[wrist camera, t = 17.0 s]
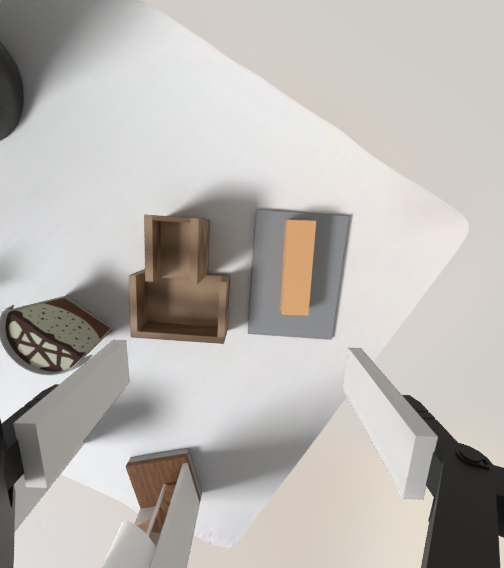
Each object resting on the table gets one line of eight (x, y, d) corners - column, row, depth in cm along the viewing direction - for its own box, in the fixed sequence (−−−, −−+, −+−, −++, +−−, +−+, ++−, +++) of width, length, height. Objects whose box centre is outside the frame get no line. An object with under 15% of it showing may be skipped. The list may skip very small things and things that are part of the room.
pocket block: (142, 215, 41) (115, 212, 33) (232, 221, 41) (227, 220, 33) (144, 325, 44) (120, 346, 37) (227, 330, 44) (221, 353, 37)
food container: (39, 319, 45) (-22, 345, 35) (56, 290, 43) (-2, 309, 34) (102, 359, 46) (61, 395, 36) (120, 333, 45) (82, 362, 35)
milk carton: (85, 443, 50) (-17, 572, 31) (49, 448, 50) (-72, 579, 31) (73, 410, 48) (-42, 525, 30) (36, 416, 49) (-99, 533, 30)
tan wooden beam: (285, 220, 40) (287, 219, 37) (311, 221, 40) (316, 220, 37) (280, 308, 43) (281, 314, 40) (304, 309, 43) (308, 315, 40)
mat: (256, 209, 40) (256, 209, 40) (347, 216, 40) (349, 216, 40) (247, 332, 44) (247, 333, 44) (330, 338, 44) (331, 339, 44)
